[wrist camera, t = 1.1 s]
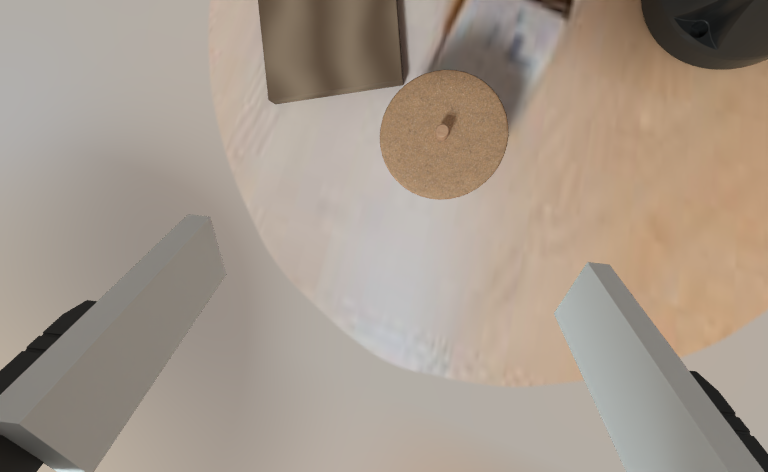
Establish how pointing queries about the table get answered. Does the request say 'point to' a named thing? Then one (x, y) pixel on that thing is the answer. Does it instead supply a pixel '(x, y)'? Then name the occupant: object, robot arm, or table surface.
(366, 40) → the brown metal plate
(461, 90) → the lidded jar
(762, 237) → the table surface
